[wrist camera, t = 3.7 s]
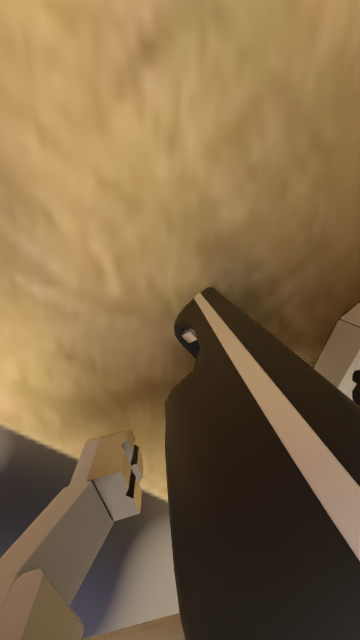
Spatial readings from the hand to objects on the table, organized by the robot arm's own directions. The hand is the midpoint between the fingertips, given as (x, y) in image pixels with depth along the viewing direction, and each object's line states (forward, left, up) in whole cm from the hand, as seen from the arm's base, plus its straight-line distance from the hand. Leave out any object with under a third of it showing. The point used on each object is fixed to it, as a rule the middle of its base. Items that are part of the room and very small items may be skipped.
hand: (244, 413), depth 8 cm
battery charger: (0, 0, -5) cm, 5 cm away
